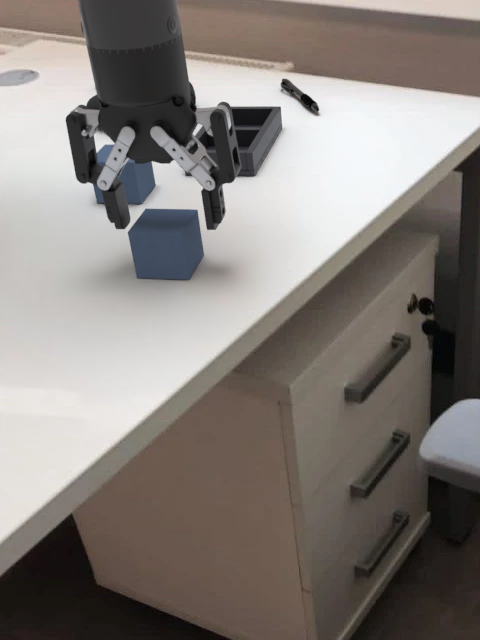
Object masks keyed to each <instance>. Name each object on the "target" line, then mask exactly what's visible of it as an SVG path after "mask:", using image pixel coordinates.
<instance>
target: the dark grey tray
mask: <svg viewBox="0 0 480 640" xmlns="http://www.w3.org/2000/svg"><path fill="white" fill-rule="evenodd" d="M231 110H232V116H233V121H234V127H235V133H236V138H237V144H238V149H239V155H240V160H241V170H240V171H239V173H238V175H237V176H236V177H256V174H257V173H258V171H259V169H260V167H261V166H262V164H263V162H264V161H265V159H266V157H267V155H268V153H269V152H268V150H269V149H270V150H271V148H272V147H273V145H274V143H275V141H276V140H277V138H278V136H279V134H280V133H279V132H281V131H282V129H283V120H282V107H281V106H272V105H271V106H269V105H268V106H264V105H263V106H231ZM277 135H278V136H277ZM194 136H195V137H196V138H197V139H198V140H199V141H200V143H201V144H202V145H203V146H204V147H205V149H206V151H207V154H208V155H209V157H210V158H211V159H212V160H213V161H214V162H215V163H216V164H217V166H219V164H218V159H217V154H216V149H215V144H214V138H213V136H210V135H208V134H207V132H206V130H205V128H204V126H203V125H201V127H200V128H199V130H198V131H197V132H196V134H194ZM276 137H277V138H276ZM275 139H276V140H275ZM274 140H275V141H274ZM273 142H274V143H273ZM272 144H273V145H272ZM271 146H272V147H271ZM270 147H271V148H270ZM270 150H269V151H270ZM266 154H267V155H266ZM265 156H266V157H265ZM264 158H265V159H264ZM261 163H262V164H261ZM260 165H261V166H260ZM184 174H185V176H192V175H191V174H190V173H187V172H185V171H184Z"/></svg>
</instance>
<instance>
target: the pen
mask: <svg viewBox="0 0 480 640" xmlns="http://www.w3.org/2000/svg"><path fill="white" fill-rule="evenodd" d="M280 88H281V89H283V90H284V91H288V92H289V93H292V94H293V95H294V96H296V97H297V98H298V99H299V100H300V102H302V104H304V106H306V107H307V108H309V109H310V110H311V111H314V112H319V111H320V107H319V105H318V102H317V101H315V100H314V99H313V98H312V97H311V96H310V95H308V94H306V93H304V91H302V90H301V89H300V88H298V87H297V86H296V85H295V84H294V83H293V82H292V81H291V80H290V79H288V78H282V79H281V82H280Z"/></svg>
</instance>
